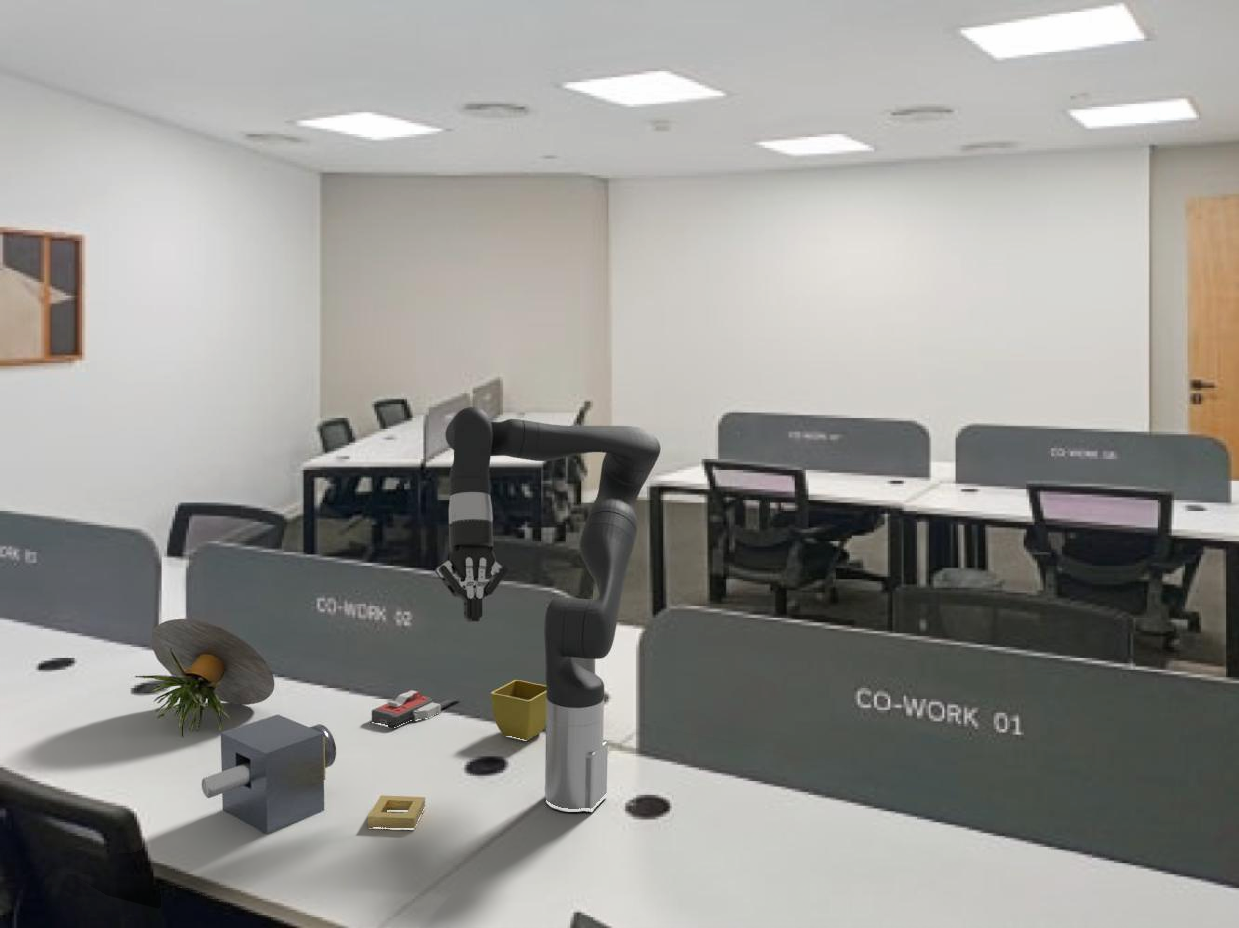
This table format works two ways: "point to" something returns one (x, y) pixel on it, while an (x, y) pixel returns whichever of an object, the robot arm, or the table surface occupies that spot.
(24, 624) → the table surface
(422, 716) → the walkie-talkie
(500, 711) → the flower pot
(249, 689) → the potted plant
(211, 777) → the shaft
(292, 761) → the bearing block
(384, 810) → the frame
